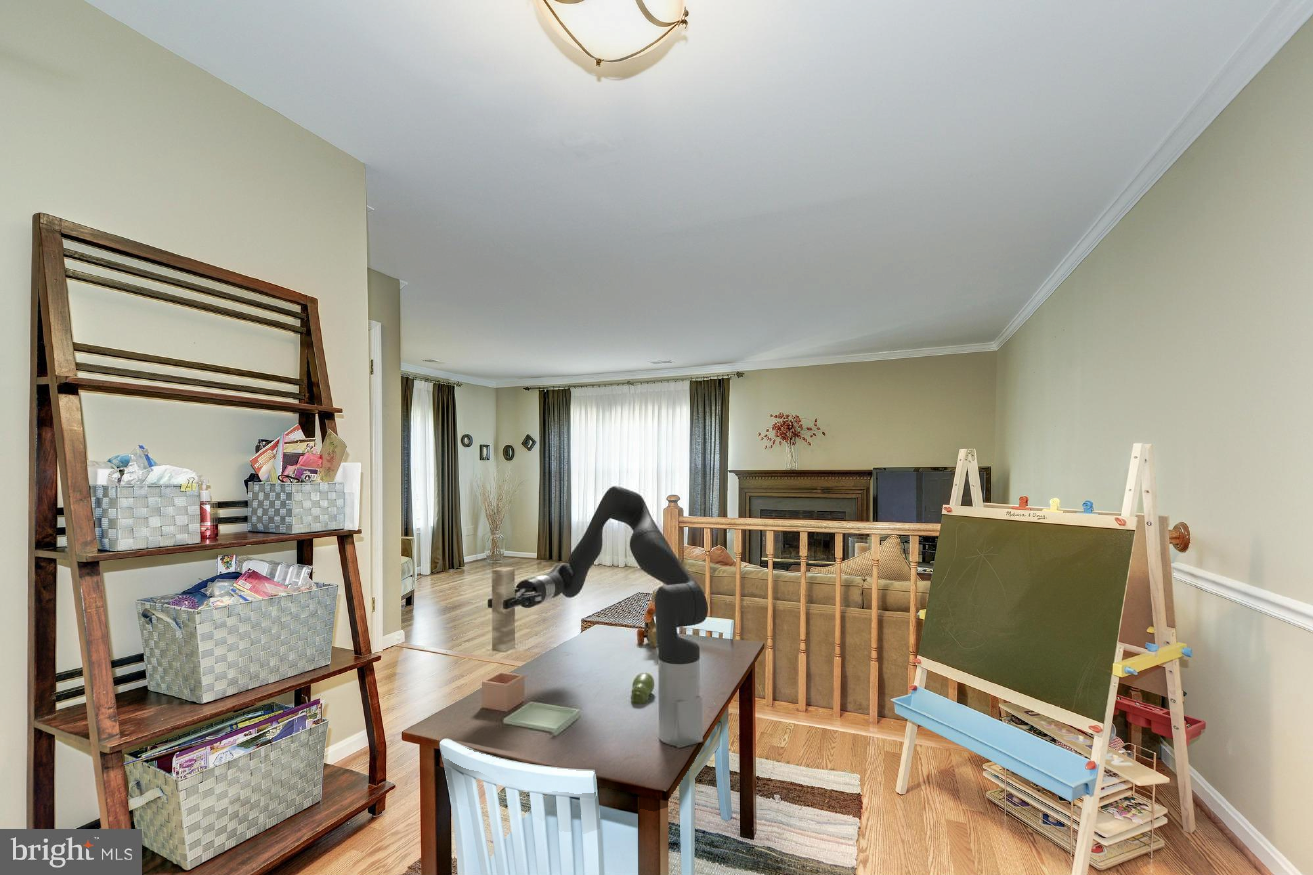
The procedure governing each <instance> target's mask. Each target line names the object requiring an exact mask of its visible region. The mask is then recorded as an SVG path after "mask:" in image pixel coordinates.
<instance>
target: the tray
mask: <svg viewBox="0 0 1313 875" xmlns="http://www.w3.org/2000/svg"><path fill="white" fill-rule="evenodd" d="M580 717H581V709H579V708H574V707H573V708H572V707H566V706H561V705H560V706H559V705H555V704H549V703H548V704H547V703H541V702H535V701H529V702H527V703H526V704H525V705H523V706H522V707H520V708H518V709H517V710H516V711H514V712H511V714H510V715H507V716H506V717H504V718H503V724H507V725H508V724H509V725H513V726H518V727H519V726H520V727H524V728H530V729H535V730H540V731H546V732H550V733H549V735H550V736H555V737H556V736H558V735H559V734H560V733H562V732H563V731H564V730H565V729H567V728H568V727H569V726H570V725H571V724H573V723H574V722H575V721H576V720H578V719H579V718H580Z"/></svg>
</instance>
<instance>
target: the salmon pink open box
mask: <svg viewBox="0 0 1313 875" xmlns="http://www.w3.org/2000/svg"><path fill="white" fill-rule="evenodd" d="M525 680H526V678H525V674H520V673H519V674H518V673H517V674H516V673H511V672H504V671H503V672H502V671H499V672H497V673H496V674H493V675H492V676H489V677H488V678H486V679H484V680H482V681H481V708H483V709H488V710H495V711H502V712H509V711H510V710H512V709H513V708H515V707H517V706H518V705H520V704H522V703H523V702H525V700H526V698H525V697H526V696H525V689H526V688H525V686H526V685H525V683H526V682H525Z"/></svg>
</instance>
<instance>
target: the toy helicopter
mask: <svg viewBox="0 0 1313 875" xmlns="http://www.w3.org/2000/svg"><path fill="white" fill-rule="evenodd" d="M642 621H643V622H644V628H638V629H637V631H636V637H637V643H638V645H643V644H644V643H645V639H646V640H647V643H648V644H649V647H650V649H651V648H652V649H653V648H654V649H655V648H657V638H656V619H655V601H651V602H649V604H648V607H647V609H646V610H645V612H644V616H643V618H642Z"/></svg>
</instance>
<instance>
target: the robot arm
mask: <svg viewBox="0 0 1313 875" xmlns="http://www.w3.org/2000/svg"><path fill="white" fill-rule="evenodd" d="M610 519H611V520H614V521H617V522H621V523H624V524H625V525H628V526H629V527H630V528H631V530H632V535H631V536H630V539H629V549H630V552H631V554H632V556H633V558H634V560H635V561H636V563H637V565H638V567H639V568H640V569H641V570H642V572H644V573H646V574H647V575H649V576H650V577H652V578H654V579H656V580H657V581H659V582H661V583H662V584H665V585H662V586H660V587H657V588H658V589H657V590H656V593H655V597H654V602H655V617H654V619H655V623H656V638H657V646H656V648H657V653H658V654H657V656H658V658H657V659H658V660H657V664H658V666H657V668H658V673H657V674H658V676H657V677H658V680H657V683H658V738H659V740H660V741H661V742H662V743H664V744H666V745H670V746H674V747H676V748H677V749H680V748H684V747H688V746H691V745H695V744H699V743H703V737H704V736H703V698H702V697H701V658H700V657H701V654H700V653H701V652H700V646H699V644H698V643H697V642H695V641H693V640H691V639H687V638H683V637H680V636H679V635H678V628H682V627H683V628H684V627H692V626H696V625H700V624H702V623H703V622H705V620H706V619H707V617H708V613H709V606H708V601H707V597H706V595H705V592H704V590H703V589H702V588H701V586H700V584H699V583H698V582H697V580H696V579H695V578H694V577H693V576H692V574H690V572H689V571H688V570H687V569H686V568H685V567H684V565H683V564H682V563H681V561H680V559H679V558H678V557H677V555H676V554H675V552H674V551H673V549H672V547H671V546H670V543H669V542H668V541H667V539H666V537H665V536H664V534H663V533H662V532H661V530H660V528H659V527H658V525H657V523H656V521H655V520H654V519H653V516H652V515H651V513H650V510H649V507H648V506H647V503H646V501H645V499H644V498H643V496H642V495H640V493H638V492H636V491H633V490H630V489H627V488H625V487H622V486H618V485H613V486H610V487H609V488H608V489H607V490H606V492H605V493H604V495H603V496H602V498H601V500H600V502H599V504H598V506H597V507H596V510H595V512H594V514H593V515H592V518H591V520H590V521H589V524H588V527H587V528H586V530H585V532H584V534H583V536H582V537H581V539H580V540H579V542H578V543H577V545H576V546H575V547H574V549H573V550H572V552H571V553H570V554H569V556H568V558H567V562H568V563H565V562H560V563H558V564H557V565H555V566H554V567H553V568H552V570H550V571H549V572H548V573H546V574H545V573H544V574H542V575H535V576H532V577H529V578H525V579H523V580H521V581H519V582H518V583H517V585H515V596H514V598H509V599H506V600H504V601H503V609H509V608H512V607H515V608H518V607H521V608H524V609H530V608H533V607H536V606H538V605H540V604H545V603H546V602H548V601H549V600H552V599H554V598H556V597H559V596H560V595H561V594H562V595H563V596H564V597H565V598H569V599H571V598H574V597H576V596H577V595H579V594H580V592H581V591H582V589H583V587H584V585H585V581H586V579H587V576H588V574H589V572H590V571H589V570H590V569H591V567H592V566H593V564H594V563H595V562H596V560H598V558H599V556H600V555H601V553H602V549H603V544H604V543H603V541H604V540H603V529H604V526H605V525H606V524H607V522H608V521H609V520H610ZM487 608H488V609H492V597H491V598H488V599H487Z"/></svg>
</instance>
